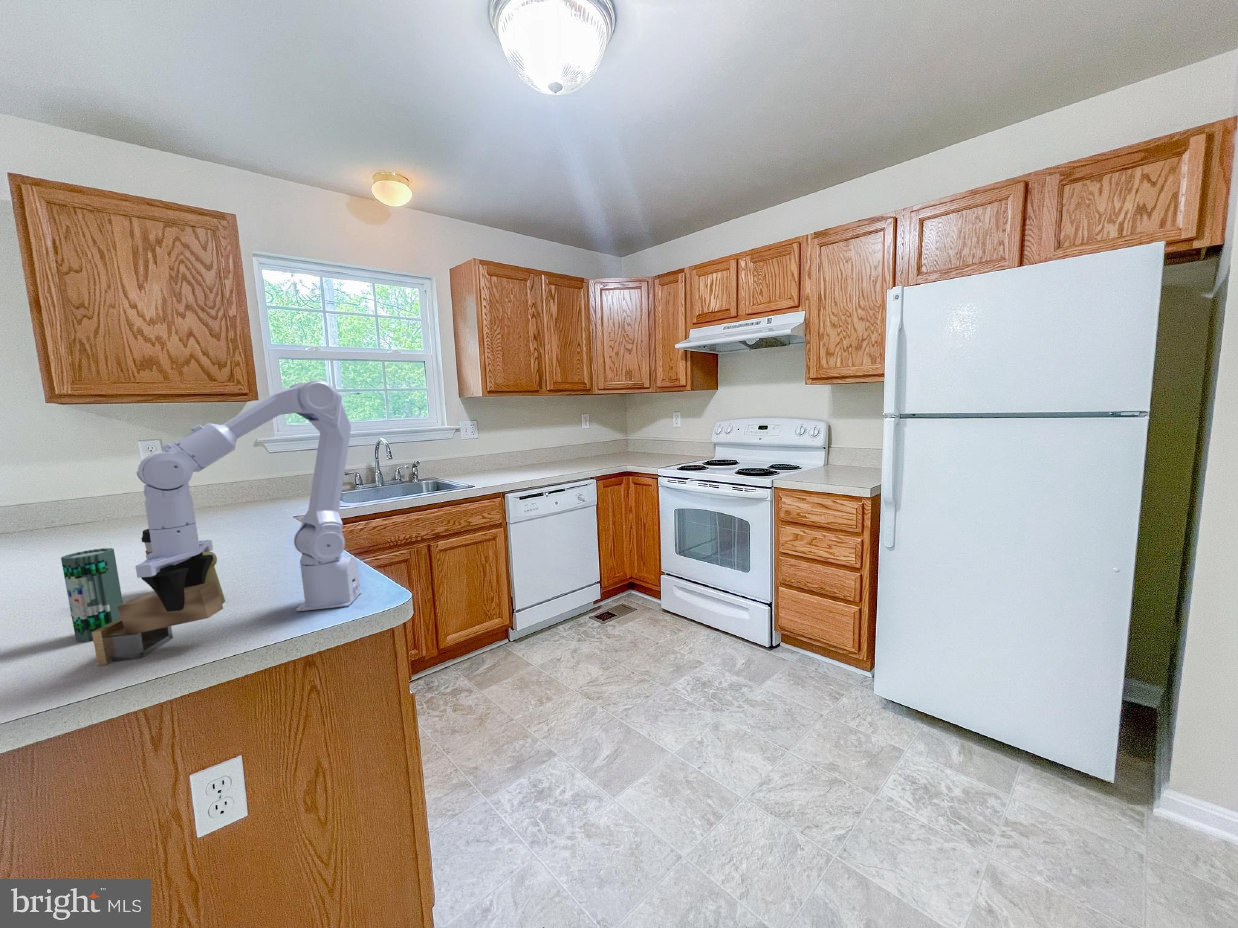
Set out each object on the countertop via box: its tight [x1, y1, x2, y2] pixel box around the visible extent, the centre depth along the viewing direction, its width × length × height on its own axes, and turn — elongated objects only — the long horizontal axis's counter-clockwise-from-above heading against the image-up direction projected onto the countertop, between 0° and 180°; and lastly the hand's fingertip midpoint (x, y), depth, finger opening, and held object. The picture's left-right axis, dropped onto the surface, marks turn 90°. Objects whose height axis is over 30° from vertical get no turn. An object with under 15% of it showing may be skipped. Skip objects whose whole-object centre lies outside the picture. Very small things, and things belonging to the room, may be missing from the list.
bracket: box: [92, 618, 174, 666], centre depth 81 cm, size 5×9×6 cm, turn 10°
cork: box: [203, 551, 226, 605], centre depth 99 cm, size 6×6×11 cm
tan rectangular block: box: [118, 582, 224, 634], centre depth 81 cm, size 12×4×5 cm, turn 100°
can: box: [60, 547, 124, 643], centre depth 87 cm, size 6×6×15 cm
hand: (185, 604), depth 82 cm, fingers closed on tan rectangular block, 4 cm apart
